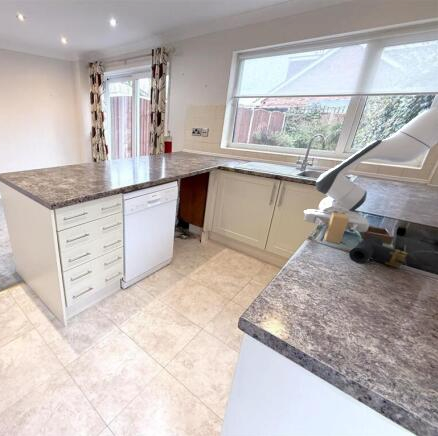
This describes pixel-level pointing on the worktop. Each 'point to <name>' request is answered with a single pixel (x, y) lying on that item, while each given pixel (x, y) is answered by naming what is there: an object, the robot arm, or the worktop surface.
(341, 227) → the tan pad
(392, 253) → the pipe connector
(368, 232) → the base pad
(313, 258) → the worktop surface
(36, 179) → the worktop surface
